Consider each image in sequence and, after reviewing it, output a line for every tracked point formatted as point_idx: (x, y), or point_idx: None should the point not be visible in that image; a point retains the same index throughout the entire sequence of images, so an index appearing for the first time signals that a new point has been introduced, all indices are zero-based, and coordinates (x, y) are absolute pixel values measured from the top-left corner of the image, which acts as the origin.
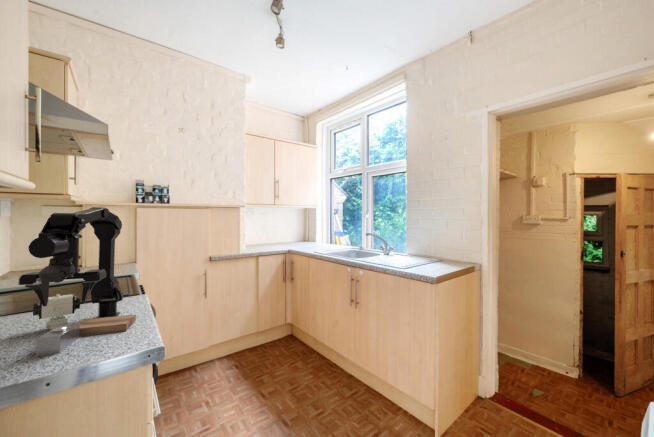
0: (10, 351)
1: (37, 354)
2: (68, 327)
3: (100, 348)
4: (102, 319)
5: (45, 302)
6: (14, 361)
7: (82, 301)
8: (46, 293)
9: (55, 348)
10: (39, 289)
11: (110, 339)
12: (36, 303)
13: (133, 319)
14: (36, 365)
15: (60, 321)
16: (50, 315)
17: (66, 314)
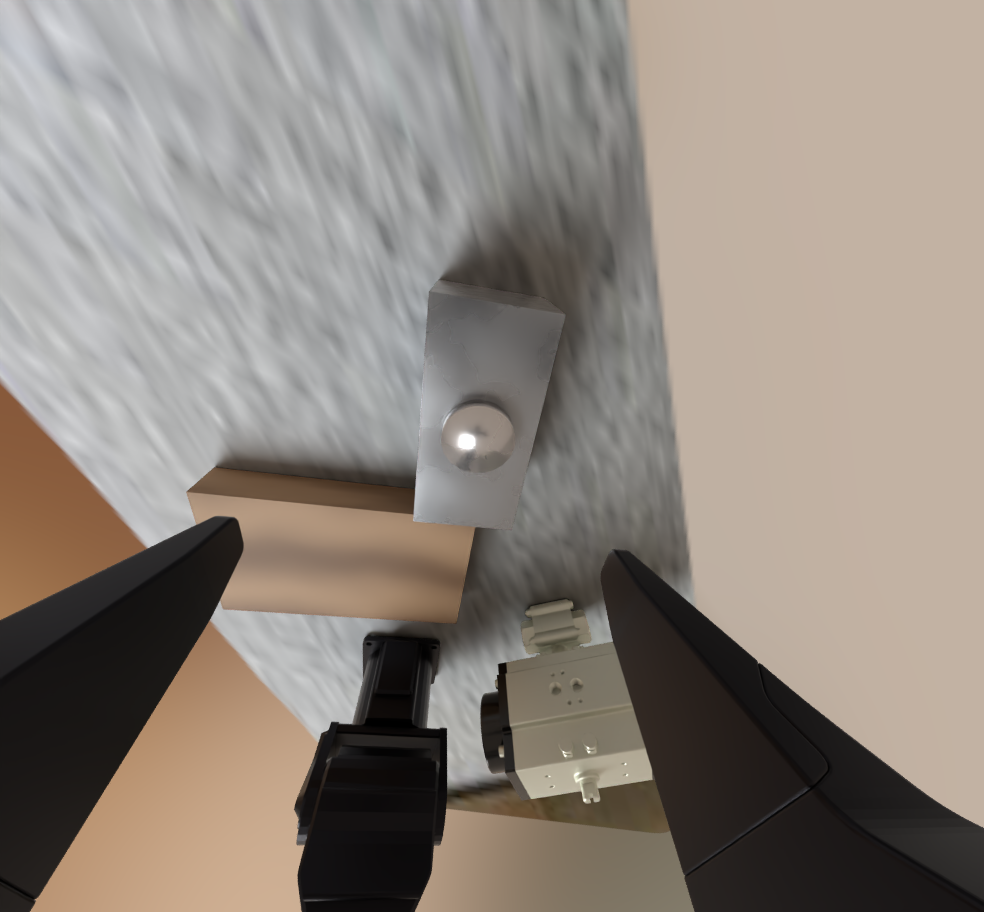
0: (658, 424)
1: (540, 298)
2: (446, 466)
3: (216, 227)
4: (367, 596)
5: (624, 588)
6: (622, 264)
7: (211, 531)
8: (671, 737)
9: (459, 286)
10: (877, 828)
11: (237, 371)
12: None
13: None
14: (499, 101)
15: (543, 630)
16: (584, 655)
17: (526, 658)
